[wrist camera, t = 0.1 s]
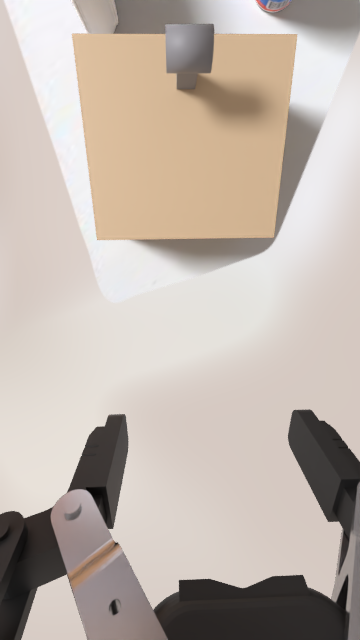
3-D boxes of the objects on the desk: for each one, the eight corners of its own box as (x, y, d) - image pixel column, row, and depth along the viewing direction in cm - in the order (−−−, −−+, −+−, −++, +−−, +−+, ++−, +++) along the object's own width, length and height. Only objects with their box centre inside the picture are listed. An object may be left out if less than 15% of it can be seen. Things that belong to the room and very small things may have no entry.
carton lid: (74, 38, 22) (39, -27, 16) (294, 38, 22) (337, -25, 16) (98, 239, 28) (79, 245, 22) (271, 237, 28) (297, 242, 22)
